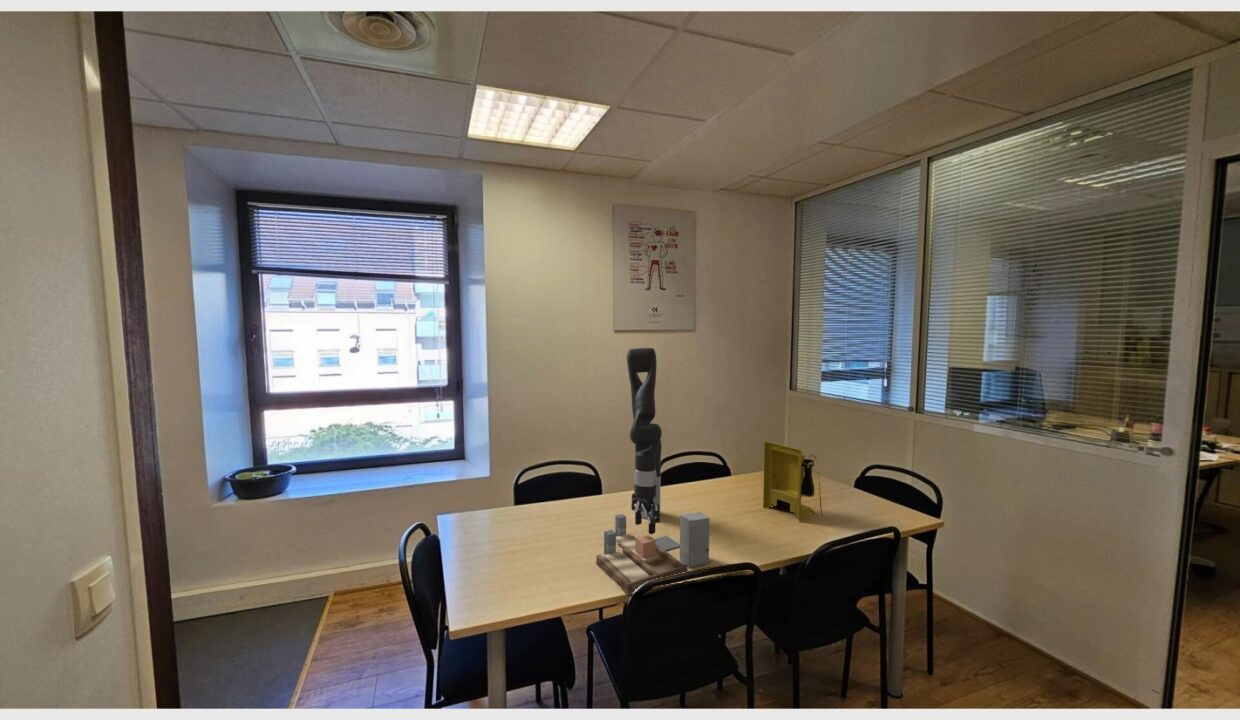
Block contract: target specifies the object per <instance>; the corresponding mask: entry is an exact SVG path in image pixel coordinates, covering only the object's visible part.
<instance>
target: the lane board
mask: <svg viewBox="0 0 1240 720" xmlns="http://www.w3.org/2000/svg"><path fill="white" fill-rule="evenodd" d="M622 553H623V554H625V555H626V556H627V557H628V558H629V559H630V560H632V561H633V562H634V563H635V564H636V565H637V566H639V567H640V568H641V569H642V570H643V571H644V572H646V573H647V574H648V575H649V577H646V578H643V579H639V580H636V581H633V582H629V581H628V580H627V579H626V578H625V577H624V576H623V575H622V574H621V573H620V572H619V571H618V570H617V569H615V568H614V567H613V566H612V565H611V564H610V563H609V562H608V561H607V560H606V559H605V558H604V555H602V554H597V555H595V558H596V559H595V560H596V562H595V564H596V565H597V567H599V569H601V570H602V571H603V572H604V573H605V574H606V575H607V577H609V578H610V579H611V578H612V579H613V580H614V581H615V582H616V583H617V584H618V585H619V586H620V587H621V588H622V589H623V590H622V589H621V588H620V587H619V586H618V585H617V584H616V583H615V582H614V581H613V580H612V579H611V580H612V581H613V582H614V583H615V584H616V585H617V586H618V587H619V588H620V589H621V590H622V591H623V592H624V593H625V594H626V596H632V595H633V594H632V593H633V592H634V591H635V589H637V588H638V587H639V586H640V585H642V584H644V583H645V582H647V581H650V580H653V579H656V578H660V577H666V576H671V575H674V574H679V573H682V572H687V573H688V566H687V565H686V564H685V563H684V562H682V561H681V560H680V559H679V560H678V559H677V558H676V557H674V556H673V555H672V554H670V553H669V552H668V551H665V550H663V549H662V548H661V547H659V546H658V545H656V553H657V554H658V555H660V559H659V560H655V561H652V562H649V563H645V562H644V561H643V560H641V559H640V558H639V557H638V556H637V555H635V554H634V553H633V552H632V551H631V550H629V549H628V548H627V547H626V548H624V547H622ZM631 594H632V595H631Z"/></svg>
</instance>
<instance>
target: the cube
mask: <svg viewBox="0 0 1240 720" xmlns="http://www.w3.org/2000/svg"><path fill="white" fill-rule="evenodd" d="M635 537H636V538H635V552H636V553H638V554H639V555H640V556H641V557H643V558H645V557H648V556H652V555H655V554H656V540H655V539H656V538H654V537H652V536H651V535H650V534H649V533H648V534H644V535H641V536H635Z"/></svg>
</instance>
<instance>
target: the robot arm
mask: <svg viewBox="0 0 1240 720" xmlns="http://www.w3.org/2000/svg"><path fill="white" fill-rule="evenodd" d="M657 362H658V361H657V353H656V350H655V348H653V347H641V348H639V347H637V348H631V349H629V350H627V354H626V364H627V371H628V377H629V383H630V393H631V394H630V395H631V406H632V409H631V410H632V418H633V422H632V425H631V428H630V433H629V437H630V440H631V443H633V444H634V450H635V456H634V457H635V458H634V461H635V462H634V463H635V465H634V466H635V467H634V477H633V479H634V481H633V482H634V486H633V488H634V490H633V491H634V492H633V493H632V494H631V510H632V511H633V512H634V519H635V520H634V523H635V525H636V526H639V525H642V518H643V519H646V520H647V521H648V535H653V534H655V533H656V524H657V523H658V524H659V523H661V517H660V516H661V460H662V459H661V458H662V441H661V438H662V436H663V435H662V433H663V432H662V428H661V426H660V425H659V424H657V423H652V422H653V420H654V418H655V417H656V399H655V391H656V381H657ZM638 373H639V374H641V373H647V375H646V378H645V379H644V381H643V382H642V380H641V378H640V376H639V374H638Z"/></svg>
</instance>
